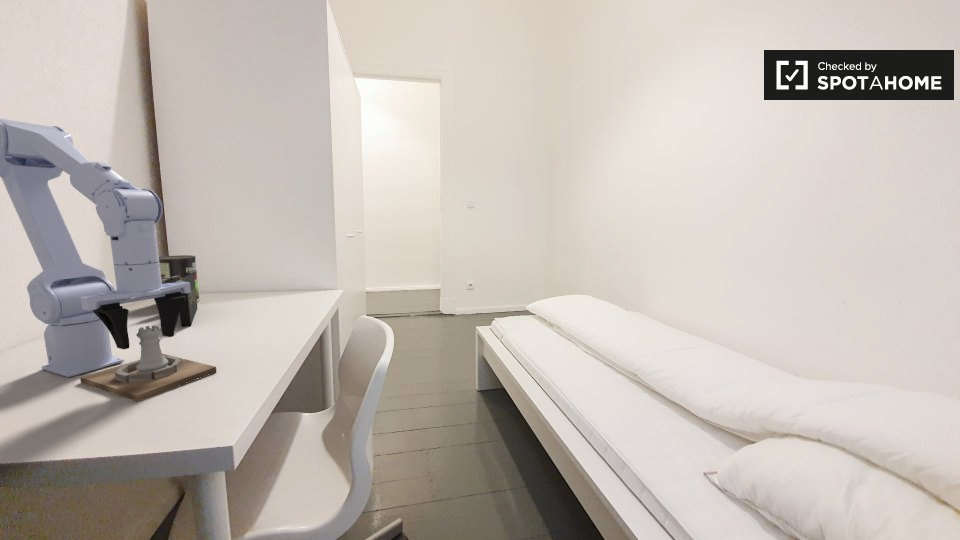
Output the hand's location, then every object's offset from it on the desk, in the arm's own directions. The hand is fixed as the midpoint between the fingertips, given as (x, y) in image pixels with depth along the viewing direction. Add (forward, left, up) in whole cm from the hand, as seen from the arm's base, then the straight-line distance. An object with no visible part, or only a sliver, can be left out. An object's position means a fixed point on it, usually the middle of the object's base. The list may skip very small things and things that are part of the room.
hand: (146, 341), depth 67 cm
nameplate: (-34, +27, -7) cm, 44 cm away
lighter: (-43, +28, -7) cm, 52 cm away
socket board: (0, 0, -6) cm, 6 cm away
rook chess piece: (+1, 0, -6) cm, 6 cm away
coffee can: (-54, +36, -7) cm, 65 cm away
